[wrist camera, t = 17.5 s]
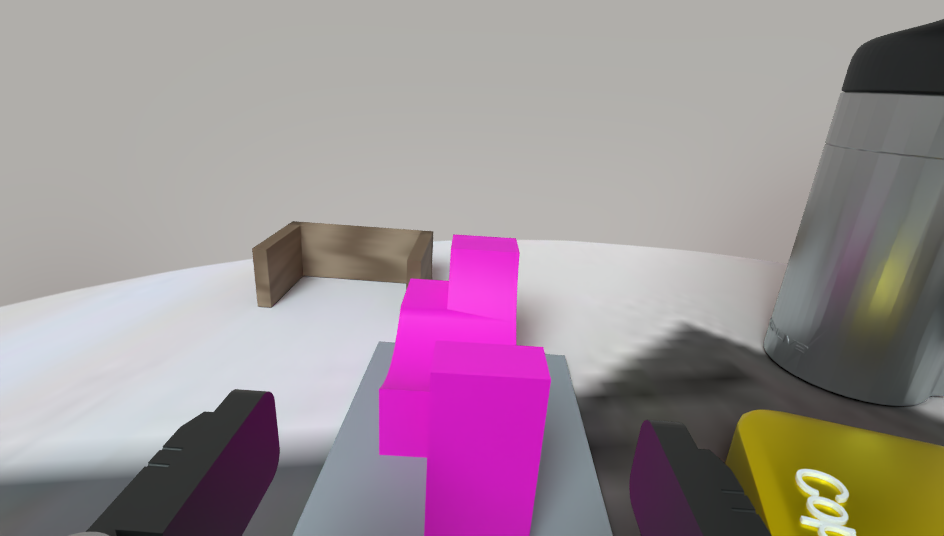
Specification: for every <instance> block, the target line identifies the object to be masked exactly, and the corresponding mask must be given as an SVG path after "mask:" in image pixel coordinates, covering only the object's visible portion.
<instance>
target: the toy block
mask: <svg viewBox="0 0 944 536" xmlns="http://www.w3.org/2000/svg"><path fill="white" fill-rule="evenodd" d="M519 254H520V253H519V249H518V244H517V240H516V238H500V237H485V236H484V237H483V236H467V235H453V240H452V246H451V259H450V275H449V281H443V280H427V279H410V282H409V285H408V287H407V290H406V293H405V296H404V299H403V302H402V304H401V309H400V317H399V324H398V330H397V336H396V342H395V347H394V352H393V356H392V360H391V364H390V368H389V371H388V374H387V376H386V379H385V381H384V383H383V385H382V386H381V387H380V388H379V455H389V456H406V457H423V458H427V473H426V499H425V525H424V536H529V535H530V528H531V521H532V514H533V506H534V499H535V492H536V485H537V478H538V471H539V463H540V456H541V449H542V442H543V435H544V427H545V420H546V413H547V406H548V399H549V392H550V384H551V377H550V373H549V369H548V365H547V361H546V357H545V353H544V349H543V347H534V346H518V345H516V304H517V281H518V266H519Z"/></svg>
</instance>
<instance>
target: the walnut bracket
mask: <svg viewBox="0 0 944 536" xmlns="http://www.w3.org/2000/svg"><path fill="white" fill-rule="evenodd" d="M432 251H433V232H432V231H419V230H405V229H391V228H378V227H362V226H350V225H336V224H322V223H308V222H294V221H293V222H291V223H290V224H288V225H287V226H285V227H284V228H282V229H281V230H279V231H278V232H277V233H275V234H273V235H272V236H270V237H269V238H267V239H266V240H264V241H263V242H261V243H260V244H258V245H257V246H255V247H254V248H253V249H252V252H253V262H254V272H255V282H256V292H257V302H258V306H259V307H272V306H273V305H274V304H275V303H276V302H277V301H278V300H279V299H280V298H281V297H282V296H283V295H284V294H285V293H286V292H287V291H288V290H289V289H290V288H291V287H292V286H293V285H294V284H295V283H296V282H297V281H298V280H299V279H300V278H301V277H302V276H315V277H329V278H342V279H356V280H369V281H383V282H396V283H407V285H406V290H407V287H408V285H409V282H410V279H427V280H431V278H432Z"/></svg>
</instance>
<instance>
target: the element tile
mask: <svg viewBox="0 0 944 536" xmlns="http://www.w3.org/2000/svg"><path fill="white" fill-rule="evenodd" d="M725 464H726V465H727V466H728V467H729V468H730V469H731V470H732V472H733V473H734V475H735V477H736V478H737V480H738V482H739V483H740V485H741V486H742V488H743V490H744V494H745V495H747V496H748V498H749V499H750V501H751V503H752V504H753V506H754V508H755V509H756V510H755V511H756V514H759V516H760V517H761V519H762V521H763V522H764V524H765V525H766V527H767V529H768V530H769V532H770V534H771V535H772V536H944V446H940V445H935V444H931V443H926V442H921V441H917V440H912V439H907V438H903V437H898V436H893V435H889V434H884V433H879V432H875V431H870V430H865V429H861V428H856V427H851V426H847V425H842V424H837V423H833V422H828V421H823V420H819V419H814V418H809V417H805V416H800V415H795V414H791V413H786V412H780V411H772V410H753V411H750V412H748V413H745V414H743V415H742V416H741V418H740V420H739V422H738V423H737V426H736V429H735V432H734V436H733V439H732V442H731V446H730V449H729V452H728V455H727V459H726V462H725Z"/></svg>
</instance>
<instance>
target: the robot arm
mask: <svg viewBox="0 0 944 536" xmlns="http://www.w3.org/2000/svg"><path fill="white" fill-rule="evenodd" d="M842 91H844V93H841V94H840V97H839V100H838V103H837V106H836V110H835V113H834V116H833V119H832V122H831V126H830V129H829V132H828V136H827V139H826V144H825V146H824V149H823V152H822V156H821V159H820V162H819V166H818V168H817V172H816V175H815V178H814V182H813V185H812V188H811V192H810V194H809V198H808V201H807V204H806V207H805V211H804V214H803V217H802V220H801V224H800V227H799V230H798V233H797V237H796V240H795V243H794V246H793V250H792V253H791V256H790V260H789V263H788V266H787V269H786V272H785V275H784V279H783V282H782V285H781V288H780V292H779V295H778V298H777V301H776V304H775V308H774V311H773V314H772V317H771V319H770V322H769V327H768V330H767V334H766V337H765V340H764V348H765V350H766V352H767V354H768V355H769V356H770V357H771V358H772V359H773V360H774V361H775V362H776V363H777V364H779V365H780V366H781V367H783V368H784V369H786V370H787V371H789V372H790V373H792V374H794V375H795V376H797V377H799V378H801V379H803V380H805V381H807V382H809V383H811V384H814V385H816V386H819V387H821V388H823V389H826V390H828V391H831V392H834V393H837V394H840V395H843V396H846V397H850V398H854V399H858V400H862V401H865V402H871V403H877V404H882V405H893V406H909V405H916V404H919V403H923V402H924V401H925V400H926V399H928V398H929V397H930V396H944V19H943V20H939V21H936V22H933V23H929V24H926V25H922V26H918V27H914V28H911V29H907V30H903V31H898V32H894V33H891V34H887V35H884V36H881V37H878V38H875V39H872V40H870V41H868V42H866V43H864V44H863V45H861V47H859V48H858V49H857V51H856V53H855V54H854V56H853V57H852V59H851V62H850V65H849V67H848V70H847V74H846V77H845V80H844V84H843V87H842ZM279 454H280V447H279V437H278V428H277V418H276V409H275V400H274V396H273V394H272V393H271V392H266V391H252V390H238V389H235V390H233V391H231V392H230V393H229V395H228V396H227V397H226V398H225V399H224V400H223V402H222V403H221V404H220V405H219V406H218V408H217V409H216V410H215V411H214V412H203V413H202V414H200V415H198V416H197V417H195V418H194V419H192V420H191V421H189V422H188V423H186V424H184V425H183V426H181V427H180V428H179V429H178V430H177V431H176V432H175V434H174V435H173V436H172V437H171V438H170V439H169V440H168V441H167V442H166V443H165V445H164V446H163V449H162V450H159V451H158V452H157V453H156V455H155V456H154V457H153V458H152V459H151V460H150V461H149V462H148V463H149V464H148V466H147V467H144V468H143V469H142V470H141V471H140V472H139V473H138V475H137V476H136V477H135V478H134V479H133V480H132V481H131V482H130V483H129V485H128V486H127V487H126V488H125V489H124V490H123V491H122V492H121V493H120V495H119V496H118V497H117V498H116V499H115V500H114V501H113V502H112V503H111V505H110V506H109V507H108V508H107V509H106V510H105V511H104V512H103V513H102V515H101V516H100V517H99V518H98V519H97V520H96V521H95V522H94V523H93V524H92V526H91V527H90V528H89V529H88V530H87V531H86V532H81V533H77V534H72V535H69V536H242V534H243V532H244V531H245V529H246V527H247V525H248V523H249V522H250V520H251V518H252V516H253V514H254V512H255V511H256V509H257V507H258V505H259V503H260V502H261V500H262V498H263V496H264V494H265V493H266V491H267V489H268V487H269V485H270V483H271V482H272V480H273V478H274V475H275V473H276V470H277V466H278V462H279ZM630 499H631V504H632V508H633V511H634V514H635V517H636V520H637V523H638V526H639V529H640V532H641V535H642V536H772V535H771V534H770V532H769V530H768V529H767V527H766V525H765V524H764V522H763V521H762V519H761V517H760V516H759V514H756V511H755V510H756V509H755V508H754V506H753V504H752V503H751V501H750V499H749V498H748V496H747V495H745V494H744V490H743V488H742V486H741V485H740V483H739V482H738V480H737V478H736V477H735V475H734V473H733V472H732V470H731V469H730V468H729V467H728V466H727V465H726V464H725V463H724V462H722V461H721V460H720V459H719V458H718V457H717V456H716V455H715V454H714V453H712V452H711V451H710V450H707V449H698V448H697V446H696V444H695V442H694V441H693V439H692V437H691V435H690V433H689V432H688V430H687V428H686V427H685V425H684V424H683V423H680V422H666V421H652V420H645V421H644V422H643V424H642V426H641V430H640V434H639V439H638V443H637V448H636V452H635V457H634V461H633V466H632V470H631V475H630Z"/></svg>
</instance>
